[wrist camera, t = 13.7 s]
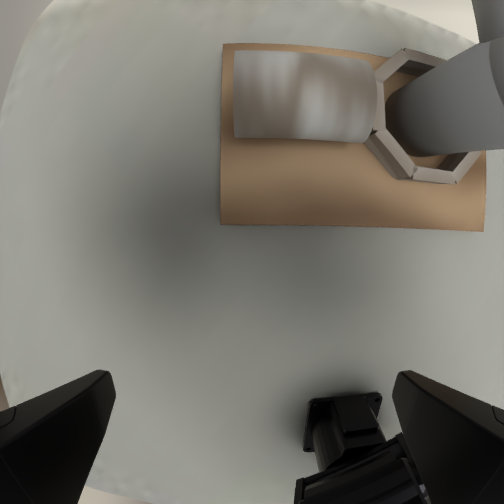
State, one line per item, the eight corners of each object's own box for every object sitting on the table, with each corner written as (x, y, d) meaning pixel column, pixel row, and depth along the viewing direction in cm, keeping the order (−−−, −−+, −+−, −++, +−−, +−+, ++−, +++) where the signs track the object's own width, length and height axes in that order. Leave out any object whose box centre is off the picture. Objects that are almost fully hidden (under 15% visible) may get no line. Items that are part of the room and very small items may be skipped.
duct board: (474, 229, 21) (525, 243, 15) (222, 222, 21) (210, 237, 15) (471, 87, 18) (518, 71, 12) (224, 50, 18) (215, 5, 12)
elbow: (440, 164, 19) (600, 163, 5) (380, 148, 18) (541, 113, 5) (443, 77, 17) (574, 20, 4) (385, 55, 17) (503, -43, 4)
